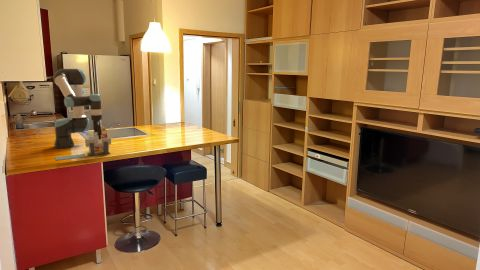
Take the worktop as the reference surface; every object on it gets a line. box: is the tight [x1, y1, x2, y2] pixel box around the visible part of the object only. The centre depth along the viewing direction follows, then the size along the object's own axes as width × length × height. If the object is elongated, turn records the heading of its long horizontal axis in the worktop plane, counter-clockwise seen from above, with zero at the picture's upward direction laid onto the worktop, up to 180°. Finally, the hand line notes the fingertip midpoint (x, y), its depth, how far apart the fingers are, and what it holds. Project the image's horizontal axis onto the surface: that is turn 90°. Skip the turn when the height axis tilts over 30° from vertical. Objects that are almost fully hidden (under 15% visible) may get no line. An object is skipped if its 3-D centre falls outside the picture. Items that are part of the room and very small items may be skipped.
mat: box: [55, 153, 87, 161], centre depth 251 cm, size 9×20×1 cm, turn 122°
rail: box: [84, 137, 112, 148], centre depth 259 cm, size 4×18×5 cm, turn 122°
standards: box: [87, 142, 111, 157], centre depth 260 cm, size 7×15×10 cm, turn 122°
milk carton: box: [94, 125, 110, 151], centre depth 275 cm, size 9×9×20 cm
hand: (98, 141), depth 259 cm, fingers open, 13 cm apart
